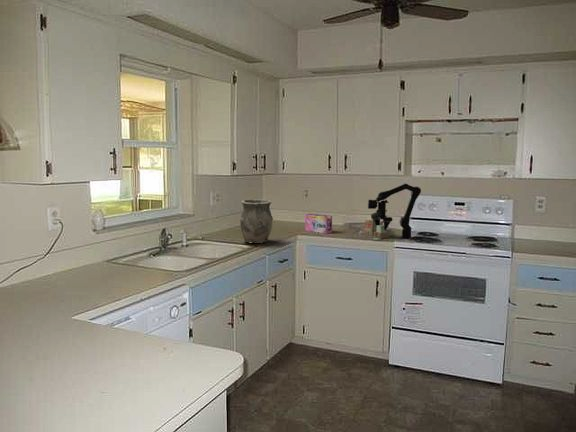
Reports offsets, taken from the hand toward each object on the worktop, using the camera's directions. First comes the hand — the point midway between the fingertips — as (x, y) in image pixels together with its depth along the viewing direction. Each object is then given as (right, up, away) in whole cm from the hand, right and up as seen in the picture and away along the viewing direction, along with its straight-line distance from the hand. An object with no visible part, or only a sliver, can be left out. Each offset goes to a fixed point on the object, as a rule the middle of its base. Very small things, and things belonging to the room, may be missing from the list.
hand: (381, 229), depth 358 cm
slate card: (-5, -7, -9) cm, 12 cm away
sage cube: (0, -2, 0) cm, 2 cm away
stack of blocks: (-2, -4, +20) cm, 20 cm away
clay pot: (-93, -9, -18) cm, 95 cm away
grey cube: (+7, -5, +12) cm, 14 cm away
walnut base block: (0, -6, +1) cm, 6 cm away
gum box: (-46, -3, +28) cm, 54 cm away
